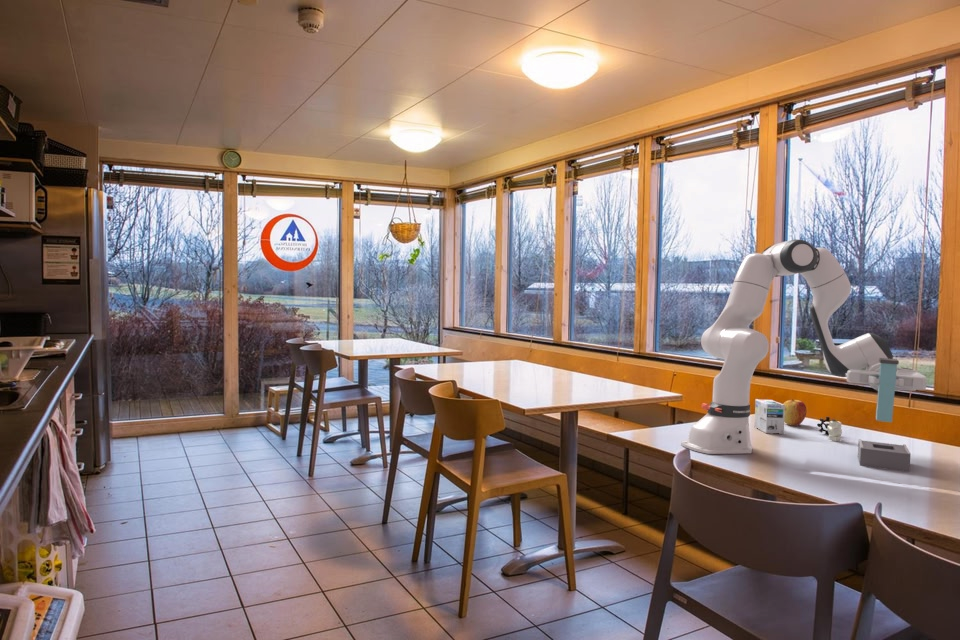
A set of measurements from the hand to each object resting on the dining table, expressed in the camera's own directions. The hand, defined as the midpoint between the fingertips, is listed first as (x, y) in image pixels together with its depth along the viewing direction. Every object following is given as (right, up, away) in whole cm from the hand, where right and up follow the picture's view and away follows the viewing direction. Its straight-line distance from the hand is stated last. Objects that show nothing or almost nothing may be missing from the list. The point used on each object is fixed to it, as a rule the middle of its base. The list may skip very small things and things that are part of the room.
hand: (887, 381), depth 186 cm
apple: (+2, -23, +61) cm, 65 cm away
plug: (0, -11, +2) cm, 12 cm away
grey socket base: (0, -25, +2) cm, 25 cm away
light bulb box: (-13, -23, +49) cm, 55 cm away
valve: (+5, -24, +40) cm, 47 cm away
